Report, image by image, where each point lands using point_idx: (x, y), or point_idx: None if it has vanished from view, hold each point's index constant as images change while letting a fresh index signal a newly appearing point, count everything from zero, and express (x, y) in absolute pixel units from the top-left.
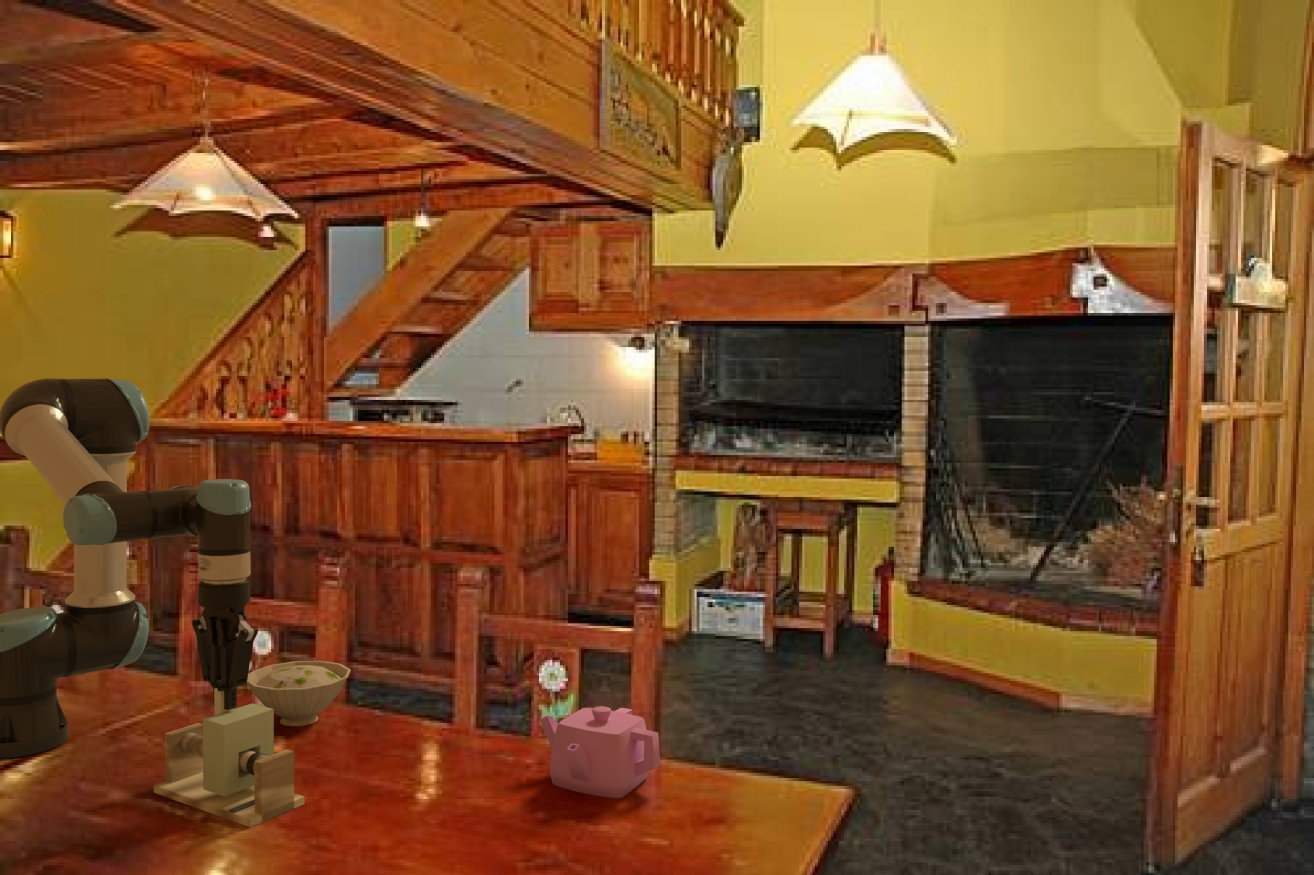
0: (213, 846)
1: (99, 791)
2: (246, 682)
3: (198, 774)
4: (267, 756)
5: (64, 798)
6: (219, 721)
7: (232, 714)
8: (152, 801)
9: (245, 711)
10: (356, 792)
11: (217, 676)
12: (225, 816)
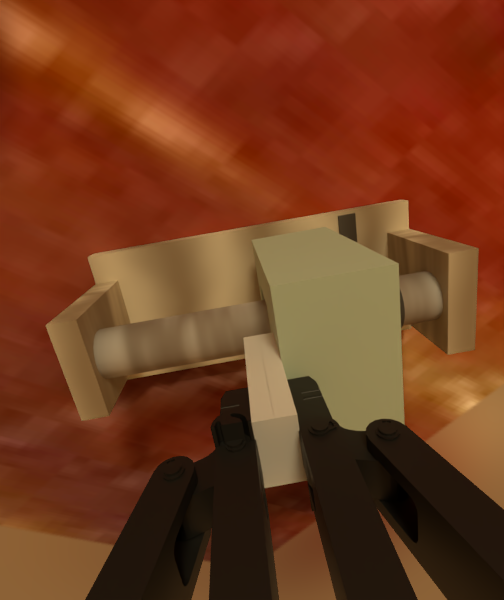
0: (414, 390)
1: (58, 431)
2: (402, 425)
3: (127, 297)
4: (422, 301)
5: (54, 475)
6: None
7: (331, 393)
8: (169, 387)
9: (338, 349)
10: (443, 75)
11: (269, 524)
12: None
